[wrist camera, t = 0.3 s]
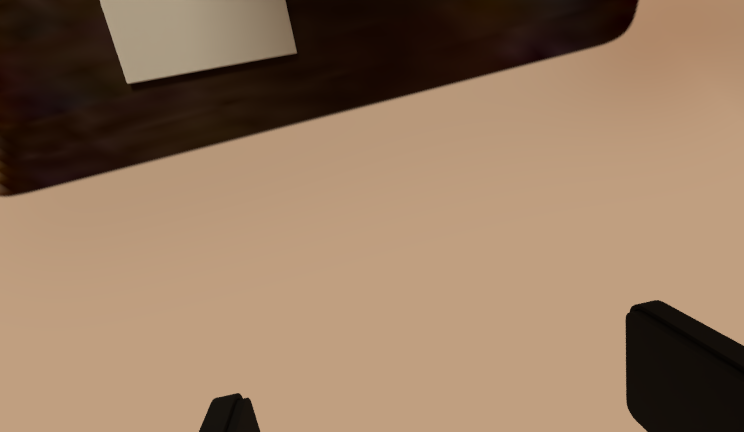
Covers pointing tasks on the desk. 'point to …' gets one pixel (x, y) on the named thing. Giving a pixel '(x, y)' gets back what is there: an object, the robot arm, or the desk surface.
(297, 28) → the desk surface
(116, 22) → the mat
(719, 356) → the robot arm
